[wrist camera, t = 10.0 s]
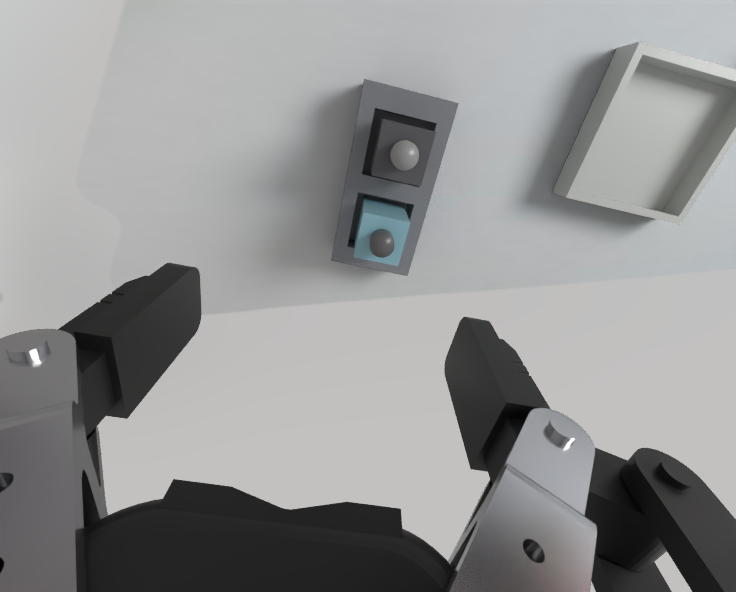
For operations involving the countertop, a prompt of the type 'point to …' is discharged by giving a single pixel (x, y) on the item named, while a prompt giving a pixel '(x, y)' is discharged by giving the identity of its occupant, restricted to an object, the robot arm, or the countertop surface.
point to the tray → (652, 134)
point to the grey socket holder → (360, 181)
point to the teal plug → (381, 231)
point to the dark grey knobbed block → (401, 152)
